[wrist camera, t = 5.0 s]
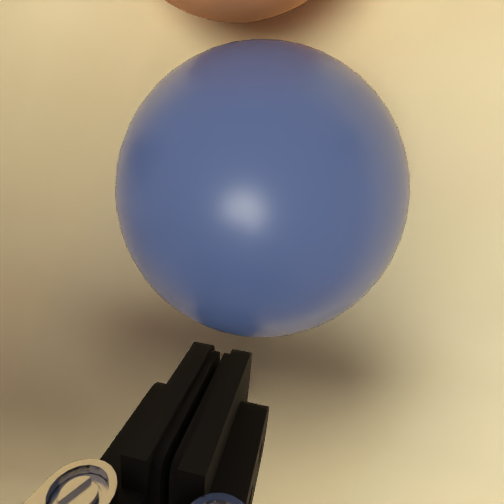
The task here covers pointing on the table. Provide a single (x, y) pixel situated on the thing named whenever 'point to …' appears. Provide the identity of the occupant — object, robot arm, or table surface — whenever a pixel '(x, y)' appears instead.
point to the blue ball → (262, 188)
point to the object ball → (236, 9)
